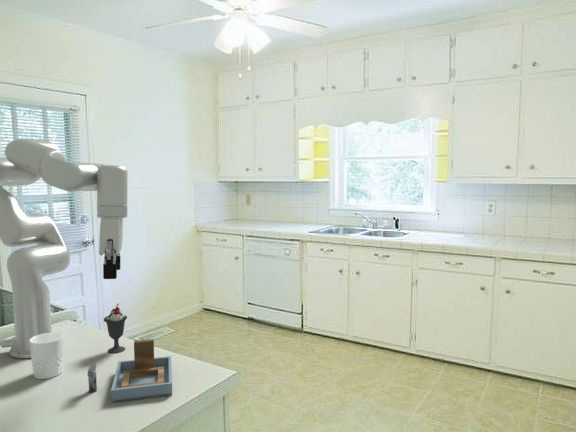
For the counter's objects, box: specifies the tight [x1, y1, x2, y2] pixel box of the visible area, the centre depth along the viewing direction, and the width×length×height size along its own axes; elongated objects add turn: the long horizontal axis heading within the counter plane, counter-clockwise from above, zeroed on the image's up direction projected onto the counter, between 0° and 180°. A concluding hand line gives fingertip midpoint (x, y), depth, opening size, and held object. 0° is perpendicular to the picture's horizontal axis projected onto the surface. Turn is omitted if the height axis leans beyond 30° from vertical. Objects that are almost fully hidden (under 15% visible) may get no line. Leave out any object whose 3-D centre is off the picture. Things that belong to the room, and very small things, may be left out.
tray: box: [110, 355, 173, 403], centre depth 111 cm, size 14×16×3 cm
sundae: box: [103, 303, 128, 354], centre depth 131 cm, size 7×7×15 cm
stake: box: [87, 361, 98, 394], centre depth 107 cm, size 2×5×6 cm, turn 16°
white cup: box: [29, 331, 64, 380], centre depth 116 cm, size 8×8×10 cm
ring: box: [121, 338, 164, 388], centre depth 111 cm, size 12×10×8 cm
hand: (112, 274), depth 118 cm, fingers open, 9 cm apart
